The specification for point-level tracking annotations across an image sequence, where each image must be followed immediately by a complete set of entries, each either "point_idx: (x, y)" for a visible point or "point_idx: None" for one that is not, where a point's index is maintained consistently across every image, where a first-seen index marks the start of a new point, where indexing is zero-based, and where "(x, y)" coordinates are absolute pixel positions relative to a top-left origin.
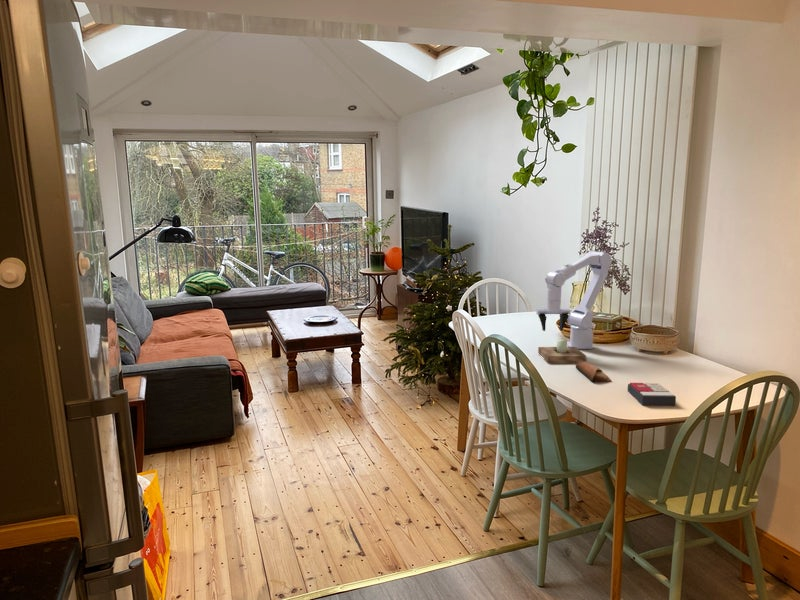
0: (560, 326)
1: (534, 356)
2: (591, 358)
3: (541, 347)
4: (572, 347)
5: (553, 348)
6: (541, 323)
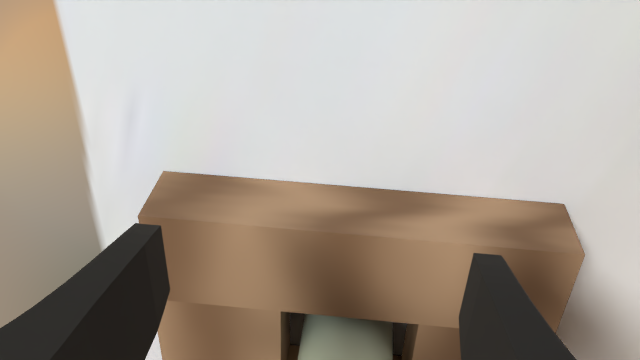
0: (478, 334)
1: (115, 237)
2: (620, 349)
3: (170, 232)
4: (533, 277)
5: (295, 279)
6: (53, 302)
